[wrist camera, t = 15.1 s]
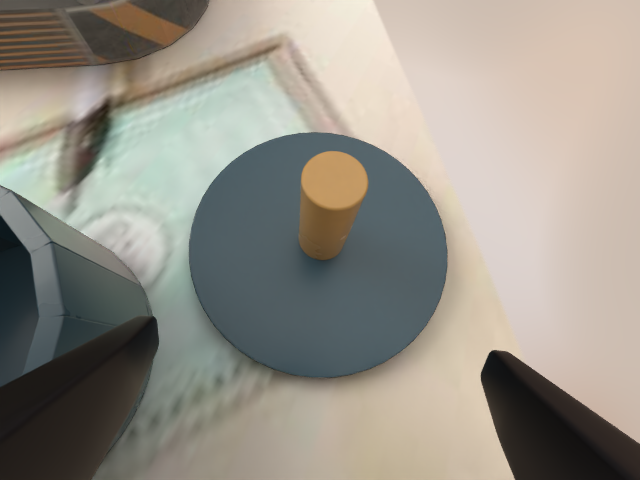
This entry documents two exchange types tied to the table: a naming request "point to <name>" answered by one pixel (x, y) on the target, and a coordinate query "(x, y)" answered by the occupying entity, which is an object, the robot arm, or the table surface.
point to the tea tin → (57, 290)
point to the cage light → (90, 30)
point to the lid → (318, 255)
